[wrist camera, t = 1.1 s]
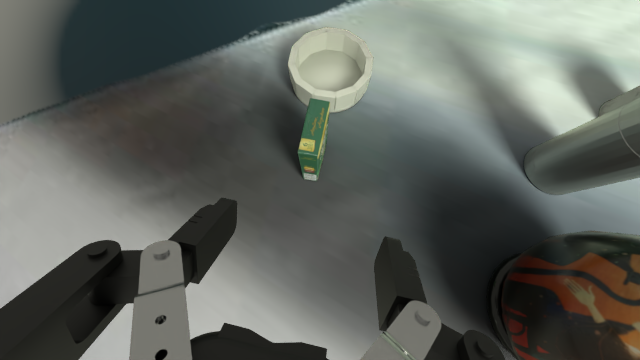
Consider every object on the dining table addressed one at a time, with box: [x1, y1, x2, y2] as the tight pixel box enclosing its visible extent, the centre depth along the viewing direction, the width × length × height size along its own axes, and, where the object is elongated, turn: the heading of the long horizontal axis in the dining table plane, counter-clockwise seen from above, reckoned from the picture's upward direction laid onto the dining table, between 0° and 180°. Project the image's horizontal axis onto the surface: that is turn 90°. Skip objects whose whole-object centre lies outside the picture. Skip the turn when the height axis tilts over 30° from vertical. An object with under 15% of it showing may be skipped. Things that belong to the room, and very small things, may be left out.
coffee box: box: [298, 98, 330, 181], centre depth 37 cm, size 8×3×13 cm, turn 168°
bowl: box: [288, 27, 373, 113], centre depth 45 cm, size 15×15×5 cm
